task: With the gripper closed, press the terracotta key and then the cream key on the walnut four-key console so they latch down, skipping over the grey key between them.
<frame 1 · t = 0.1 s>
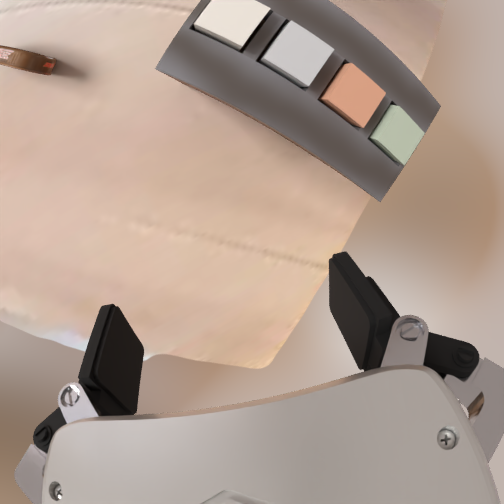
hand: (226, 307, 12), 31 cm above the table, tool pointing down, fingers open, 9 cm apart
terracotta key: (351, 94, 19), point 19 cm above the table, slide at 0.0 cm
cream key: (231, 18, 15), point 19 cm above the table, slide at 0.0 cm
tin: (31, 58, 24), on the table
grey key: (295, 54, 17), point 19 cm above the table, slide at 0.0 cm
sage key: (394, 133, 21), point 19 cm above the table, slide at 0.0 cm
console: (272, 83, 34), on the table
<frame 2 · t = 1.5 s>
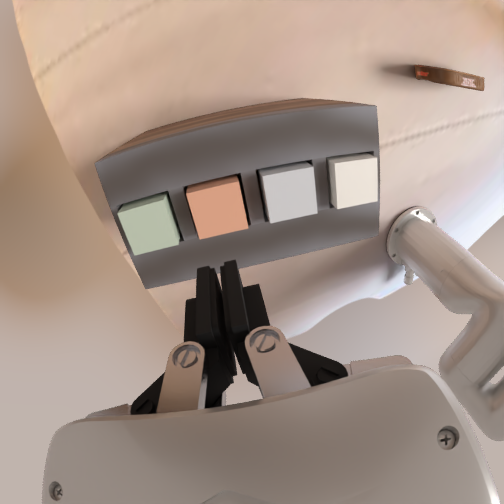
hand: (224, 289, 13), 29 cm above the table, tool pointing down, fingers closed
terracotta key: (217, 205, 21), point 19 cm above the table, slide at 0.0 cm
cream key: (351, 178, 22), point 19 cm above the table, slide at 0.0 cm
tin: (435, 75, 33), on the table
grey key: (287, 190, 22), point 19 cm above the table, slide at 0.0 cm
sage key: (150, 222, 21), point 19 cm above the table, slide at 0.0 cm
console: (233, 151, 37), on the table
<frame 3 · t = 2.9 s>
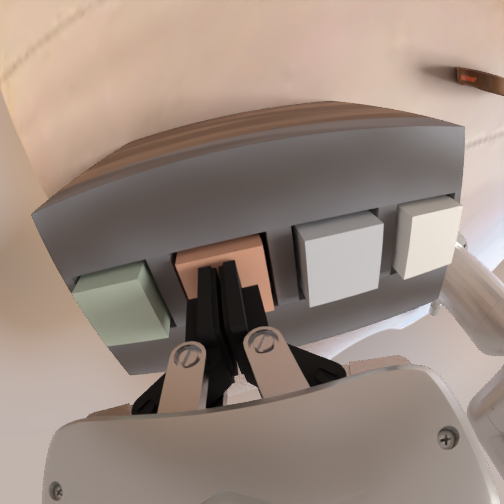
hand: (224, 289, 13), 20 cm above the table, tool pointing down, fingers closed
terracotta key: (226, 274, 14), point 18 cm above the table, slide at 0.4 cm, touching gripper
cream key: (422, 232, 14), point 19 cm above the table, slide at 0.0 cm
tin: (474, 80, 25), on the table
grey key: (336, 254, 14), point 19 cm above the table, slide at 0.0 cm
sage key: (124, 301, 13), point 19 cm above the table, slide at 0.0 cm
console: (242, 168, 29), on the table
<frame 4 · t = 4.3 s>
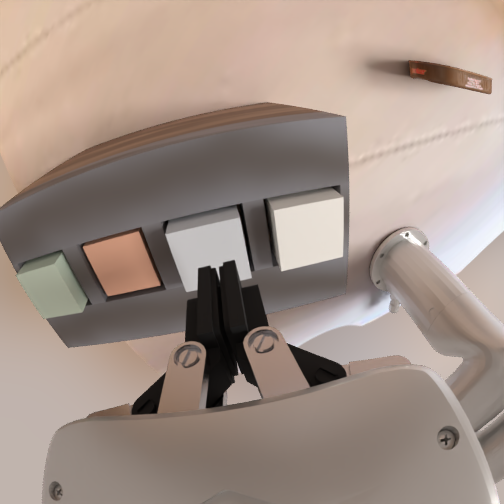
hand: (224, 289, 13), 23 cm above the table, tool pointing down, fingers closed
terracotta key: (125, 255, 16), point 18 cm above the table, slide at 1.2 cm
cream key: (304, 225, 16), point 19 cm above the table, slide at 0.0 cm
tin: (433, 74, 28), on the table
grey key: (209, 246, 16), point 19 cm above the table, slide at 0.0 cm
sage key: (54, 282, 15), point 19 cm above the table, slide at 0.0 cm
console: (183, 170, 31), on the table
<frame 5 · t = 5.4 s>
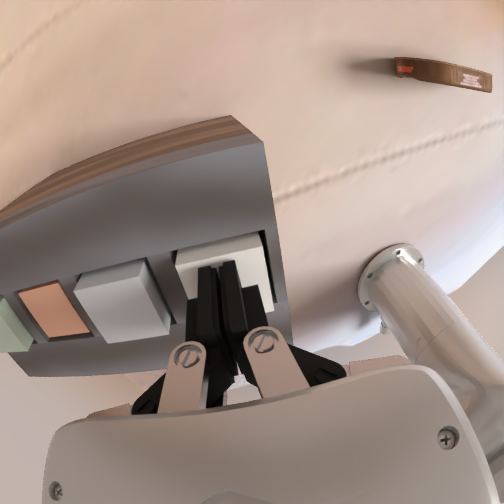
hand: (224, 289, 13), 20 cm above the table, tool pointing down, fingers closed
terracotta key: (58, 300, 14), point 18 cm above the table, slide at 1.2 cm
cream key: (226, 275, 14), point 19 cm above the table, slide at 0.2 cm, touching gripper
tin: (425, 72, 25), on the table
grey key: (125, 298, 14), point 19 cm above the table, slide at 0.0 cm
sage key: (4, 321, 13), point 19 cm above the table, slide at 0.0 cm
console: (145, 192, 29), on the table
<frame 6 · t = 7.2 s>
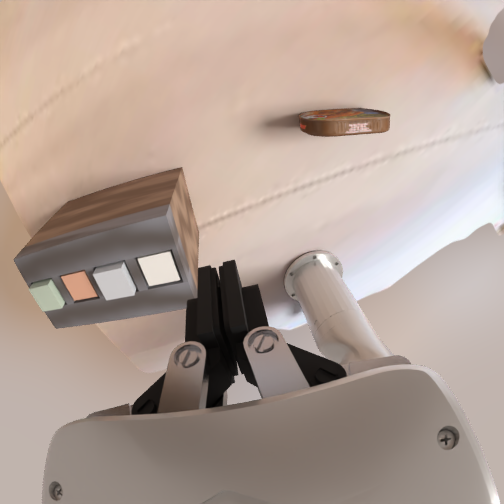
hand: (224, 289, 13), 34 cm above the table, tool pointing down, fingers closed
terracotta key: (81, 280, 30), point 18 cm above the table, slide at 1.2 cm
cream key: (160, 263, 31), point 18 cm above the table, slide at 1.2 cm
tin: (335, 118, 42), on the table
grey key: (115, 278, 30), point 19 cm above the table, slide at 0.0 cm
sage key: (48, 293, 29), point 19 cm above the table, slide at 0.0 cm
console: (130, 216, 45), on the table
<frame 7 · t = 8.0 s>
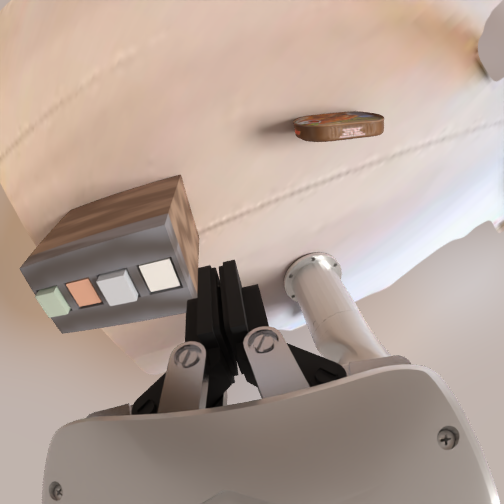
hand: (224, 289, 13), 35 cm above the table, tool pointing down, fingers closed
terracotta key: (86, 287, 32), point 18 cm above the table, slide at 1.2 cm
cream key: (160, 270, 32), point 18 cm above the table, slide at 1.2 cm
tin: (329, 122, 43), on the table
grey key: (118, 285, 31), point 19 cm above the table, slide at 0.0 cm
sage key: (54, 299, 31), point 19 cm above the table, slide at 0.0 cm
console: (131, 223, 47), on the table
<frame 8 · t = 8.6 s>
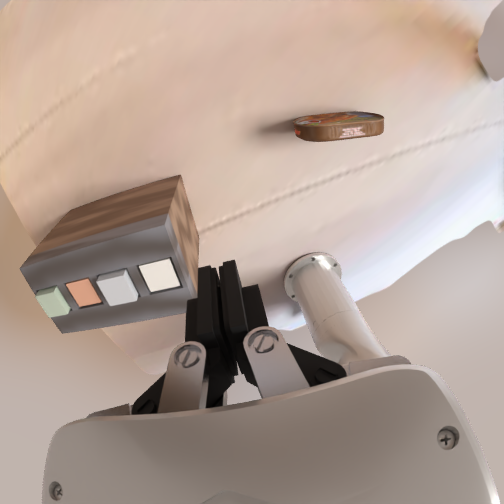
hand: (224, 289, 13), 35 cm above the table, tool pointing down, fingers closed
terracotta key: (86, 287, 32), point 18 cm above the table, slide at 1.2 cm
cream key: (160, 270, 32), point 18 cm above the table, slide at 1.2 cm
tin: (329, 122, 43), on the table
grey key: (118, 285, 31), point 19 cm above the table, slide at 0.0 cm
sage key: (54, 299, 31), point 19 cm above the table, slide at 0.0 cm
console: (131, 223, 47), on the table
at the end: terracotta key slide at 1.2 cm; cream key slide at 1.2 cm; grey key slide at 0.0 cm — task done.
